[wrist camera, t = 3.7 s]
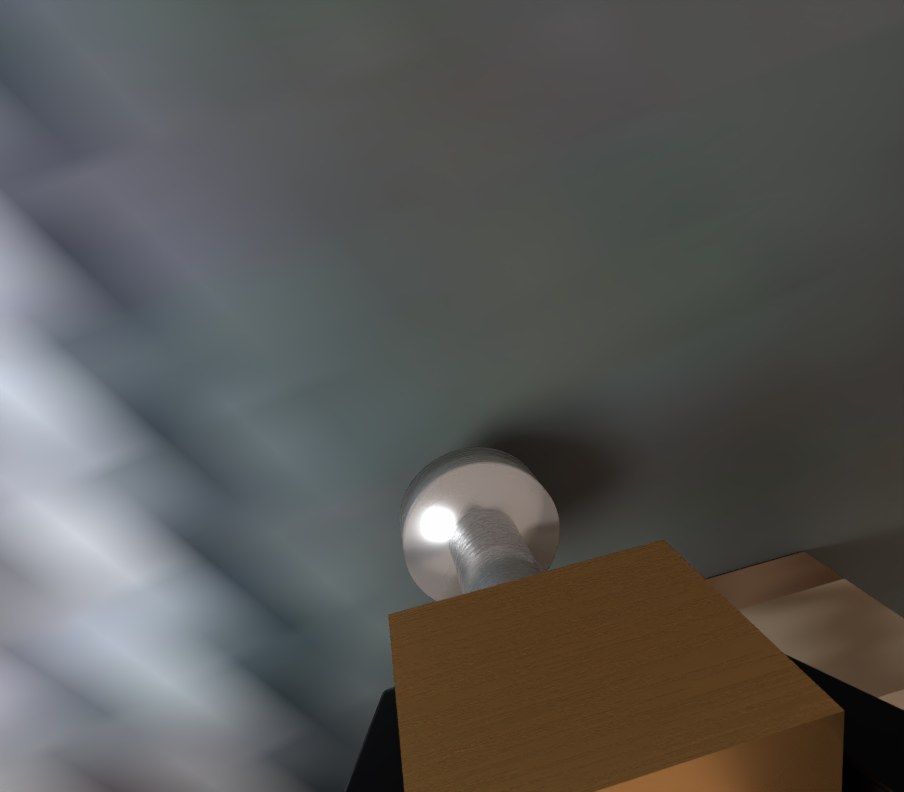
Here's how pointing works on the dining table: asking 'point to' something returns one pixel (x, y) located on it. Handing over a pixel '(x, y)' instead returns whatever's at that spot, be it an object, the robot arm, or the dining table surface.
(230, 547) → the dining table surface
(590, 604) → the peg
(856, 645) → the keyhole track
